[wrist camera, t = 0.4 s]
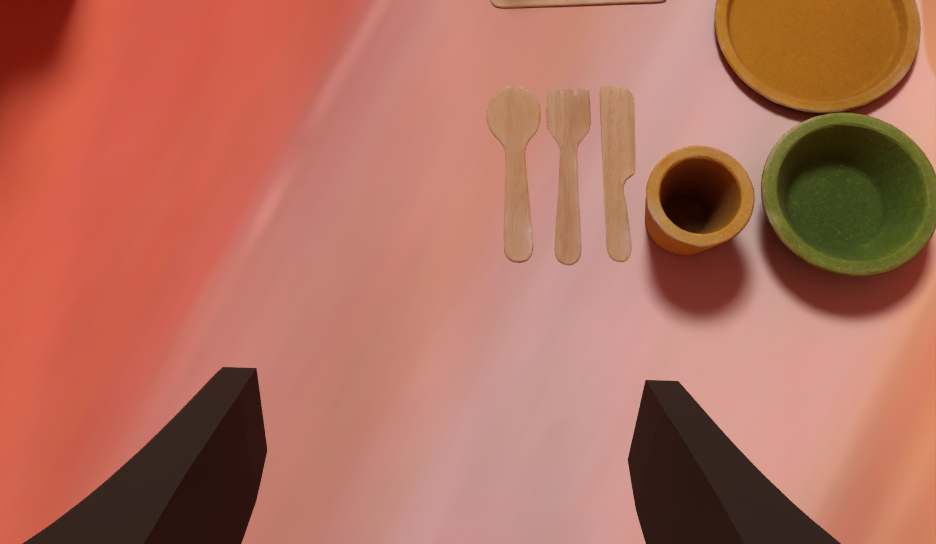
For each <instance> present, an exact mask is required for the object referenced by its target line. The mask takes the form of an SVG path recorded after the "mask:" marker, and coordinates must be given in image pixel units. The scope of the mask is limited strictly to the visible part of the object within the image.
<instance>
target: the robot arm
mask: <svg viewBox="0 0 936 544" xmlns="http://www.w3.org/2000/svg"><path fill="white" fill-rule="evenodd" d="M266 453H267V444H266V437H265V429H264V422H263V414H262V407H261V399H260V392H259V384H258V377H257V370H256V368H232V367H223V368H221V369H220V370H219V371H218V372H217V373H216V374H215V375H214V376H213V377H212V378H211V379H210V380H209V381H208V382H207V383H206V384H205V386H204V387H203V388H202V389H201V390H200V391H199V392H198V393H197V394H196V395H195V396H194V397H193V398H192V399H191V400H190V401H189V402H188V403H187V404H186V405H185V406H184V407H183V409H182V410H181V411H180V412H179V413H178V414H177V415H176V416H175V417H174V418H173V419H172V420H171V421H170V422H169V423H168V424H167V425H166V426H165V427H164V428H163V429H162V430H161V431H160V432H159V433H158V434H157V435H155V436H154V437H153V438H152V439H151V440H150V441H149V442H148V443H147V444H146V445H145V446H144V447H143V448H142V449H141V450H140V451H139V452H138V453H137V454H136V455H134V456H133V457H132V458H131V459H130V460H129V461H128V462H127V463H126V464H124V465H123V466H122V467H121V468H120V469H119V470H118V471H117V472H115V473H114V474H113V475H112V476H111V477H110V478H109V479H108V480H106V481H105V482H104V483H103V484H102V485H101V486H99V487H98V488H97V489H96V490H95V491H93V492H92V493H91V494H90V495H89V496H87V497H86V498H85V499H84V500H82V501H81V502H80V503H79V504H77V505H76V506H75V507H73V508H72V509H71V510H69V511H68V512H67V513H66V514H64V515H63V516H62V517H60V518H59V519H58V520H56V521H55V522H54V523H52V524H51V525H49V526H48V527H47V528H45V529H44V530H42V531H41V532H39V533H38V534H36V535H35V536H33V537H32V538H30V539H29V540H27V541H26V542H24V543H23V544H241V543H242V540H243V537H244V534H245V532H246V529H247V526H248V523H249V520H250V517H251V514H252V511H253V508H254V505H255V503H256V499H257V495H258V490H259V486H260V482H261V477H262V472H263V468H264V463H265V458H266ZM628 463H629V470H630V476H631V483H632V489H633V495H634V500H635V506H636V511H637V515H638V518H639V522H640V525H641V528H642V532H643V535H644V539H645V542H646V544H841V543H839V542H838V541H837V540H836V539H834V538H833V537H832V536H831V535H830V534H828V533H827V532H826V531H825V530H824V529H822V528H821V527H820V526H819V525H818V524H816V523H815V522H814V521H813V520H812V519H810V518H809V517H808V516H807V515H806V514H805V513H804V512H802V511H801V510H800V509H799V508H798V507H797V506H796V505H795V504H793V503H792V502H791V501H790V500H789V499H788V498H787V497H786V496H785V495H784V494H783V493H782V492H781V491H780V490H779V489H778V488H777V487H776V486H775V485H773V484H772V483H771V482H770V481H769V480H768V479H767V478H766V477H765V476H764V475H763V474H762V473H761V472H760V471H759V470H758V469H757V468H756V467H755V466H754V465H753V464H752V463H751V462H750V461H749V459H748V458H747V457H746V456H745V455H744V454H743V453H742V452H741V451H740V450H739V449H738V448H737V447H736V446H735V445H734V444H733V442H732V441H731V440H730V439H729V438H728V437H727V436H726V435H725V434H724V433H723V431H722V430H721V429H720V428H719V427H718V426H717V425H716V424H715V422H714V421H713V420H712V419H711V418H710V417H709V416H708V415H707V413H706V412H705V411H704V410H703V409H702V408H701V407H700V405H699V404H698V403H697V402H696V401H695V400H694V399H693V397H692V396H691V395H690V394H689V393H688V392H687V391H686V389H685V388H684V387H683V386H682V385H681V384H680V383H679V382H678V381H656V380H646V381H645V386H644V390H643V394H642V399H641V403H640V408H639V412H638V417H637V421H636V426H635V430H634V435H633V439H632V443H631V448H630V452H629V457H628Z"/></svg>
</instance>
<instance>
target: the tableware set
mask: <svg viewBox="0 0 936 544" xmlns="http://www.w3.org/2000/svg"><path fill="white" fill-rule="evenodd" d="M664 1H666V0H491V2H492V4H493V5H494V6H496V7H499V8H523V7H553V6H579V5H605V4H633V3H659V2H664ZM715 29H716V35H717V39H718V42H719V45H720V48H721V51H722V53H723V55H724V57H725V59H726V61H727V62H728V64H729V65H730V66H731V68H732V69H733V71H734V72H735V73H736V74H737V75H738V76H739V78H740V79H741V80H742V81H743V82H744V83H745V84H747V85H748V86H749V87H750V88H752V89H753V90H754V91H756V92H757V93H758V94H760V95H762V96H763V97H765V98H767V99H769V100H771V101H773V102H775V103H777V104H780V105H782V106H785V107H788V108H790V109H795V110H800V111H805V112H812V113H831V114H825V115H820V116H816V117H813V118H810V119H808V120H806V121H804V122H802V123H800V124H798V125H796V126H795V127H793V128H792V129H790V130H789V131H788V132H787V133H785V134H784V135H783V136H782V137H781V139H780V140H779V141H778V142H777V143H776V145H775V146H774V147H773V149H772V151H771V152H770V154H769V156H768V158H767V160H766V163H765V166H764V170H763V174H762V181H761V197H762V205H763V208H764V211H765V214H766V217H767V219H768V221H769V223H770V225H771V227H772V228H773V230H774V232H775V233H776V235H777V237H778V238H779V239H780V240H781V241H782V242H783V244H784V245H785V246H786V247H787V248H788V249H789V250H790V251H792V252H793V253H794V254H795V255H796V256H798V257H799V258H801V259H802V260H804V261H805V262H807V263H808V264H810V265H812V266H814V267H816V268H819V269H821V270H824V271H827V272H830V273H834V274H839V275H845V276H855V277H859V276H871V275H877V274H882V273H885V272H888V271H891V270H894V269H896V268H898V267H900V266H903V265H905V264H906V263H907V262H909V261H910V260H911V259H913V258H914V257H915V256H916V255H918V254H919V253H920V251H921V250H922V249H923V248H924V247H925V246H926V245H927V243H928V242H929V240H930V239H931V237H932V235H933V233H934V231H935V228H936V175H935V172H934V169H933V167H932V165H931V163H930V162H929V160H928V158H927V157H926V155H925V153H924V152H923V151H922V150H921V149H920V148H919V147H918V145H917V144H916V143H915V142H914V141H913V140H912V139H911V138H909V137H908V136H907V135H906V134H905V133H903V132H902V131H901V130H899V129H897V128H896V127H894V126H893V125H891V124H888V123H886V122H884V121H881V120H879V119H876V118H873V117H870V116H867V115H863V114H855V113H834V112H841V111H848V110H851V109H855V108H858V107H861V106H864V105H867V104H869V103H871V102H873V101H875V100H877V99H879V98H881V97H882V96H883V95H885V94H886V93H888V92H889V91H890V90H891V89H893V88H894V87H895V86H896V85H897V84H898V83H899V82H900V81H901V80H902V78H903V77H904V76H905V74H906V73H907V72H908V70H909V69H910V67H911V65H912V63H913V61H914V59H915V56H916V53H917V50H918V46H919V41H920V31H921V26H920V16H919V12H918V8H917V5H916V2H915V0H717V3H716V8H715ZM564 94H565V95H560V93H559V89H548V93H547V110H546V118H547V129H548V131H549V132H550V134H551V135H552V136H553V137H554V139H555V140H556V141H557V143H558V145H559V148H560V168H559V189H558V203H557V216H556V231H555V256H556V258H557V259H558V261H559V262H561V263H562V264H565V265H572V264H574V263H576V262H577V261H578V260H579V259H580V256H581V231H580V210H579V193H578V162H577V148H578V145H579V143H580V142H581V140H582V139H583V138H584V137H585V135H586V134H587V133H588V132H589V129H590V123H591V115H590V97H589V90H588V89H584V88H582V89H578V95H573V91H572V89H569V88H567V89H565V90H564ZM600 114H601V140H602V160H603V180H604V204H605V226H606V244H607V251H608V254H609V256H610V257H611V258H612V259H613V260H615V261H618V262H622V261H625V260H627V259H628V258H629V256H630V253H631V247H632V245H631V236H630V228H629V221H628V214H627V207H626V201H625V196H624V184H625V182H626V180H627V179H628V178H630V177H631V176H632V175H634V174H635V110H634V98H633V95H632V94H631V93H630V92H629V91H628V90H627V89H625V88H624V87H622V86H619V85H605V86H603V87H602V88H601V90H600ZM540 116H541V112H540V105H539V103H538V101H537V99H536V97H535V96H534V95H533V94H532V93H531V92H530V91H529V90H527V89H525V88H523V87H519V86H510V87H505V88H503V89H501V90H500V91H498V92H497V93H496V94H495V95H494V96H493V97H492V99H491V101H490V103H489V104H488V108H487V122H488V126H489V128H490V130H491V132H492V133H493V135H494V136H495V137H496V138H497V139H498V140H499V141H500V142H501V144H502V145H503V147H504V150H505V153H506V181H505V215H504V252H505V255H506V257H507V258H508V259H509V260H511V261H513V262H519V263H520V262H524V261H527V260H528V259H529V258H530V257H531V255H532V251H533V239H532V227H531V216H530V204H529V193H528V184H527V173H526V160H525V150H526V146H527V144H528V142H529V140H530V139H531V138H532V137H533V136H534V134H535V133H536V131H537V129H538V127H539V124H540ZM754 200H755V199H754V189H753V186H752V183H751V181H750V179H749V177H748V175H747V173H746V171H745V170H744V168H743V167H742V166H741V164H740V163H739V162H738V161H737V160H736V159H734V158H733V157H731V156H730V155H728V154H727V153H725V152H723V151H721V150H719V149H715V148H711V147H705V146H689V147H685V148H681V149H678V150H676V151H674V152H672V153H670V154H668V155H667V156H665V157H664V158H663V159H662V160H661V161H660V162H659V163H658V164H657V165H656V166H655V168H654V169H653V171H652V173H651V175H650V177H649V180H648V183H647V187H646V205H645V223H646V227H647V231H648V233H649V235H650V237H651V238H652V239H653V241H654V242H655V243H656V244H657V245H658V246H659V247H661V248H662V249H664V250H666V251H668V252H670V253H673V254H677V255H692V254H696V253H699V252H702V251H705V250H707V249H709V248H712V247H714V246H717V245H719V244H722V243H724V242H727V241H729V240H730V239H732V238H733V237H735V236H737V235H738V234H739V233H740V232H741V231H742V230H743V229H744V227H745V226H746V225H747V223H748V222H749V220H750V217H751V215H752V212H753V208H754Z"/></svg>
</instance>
